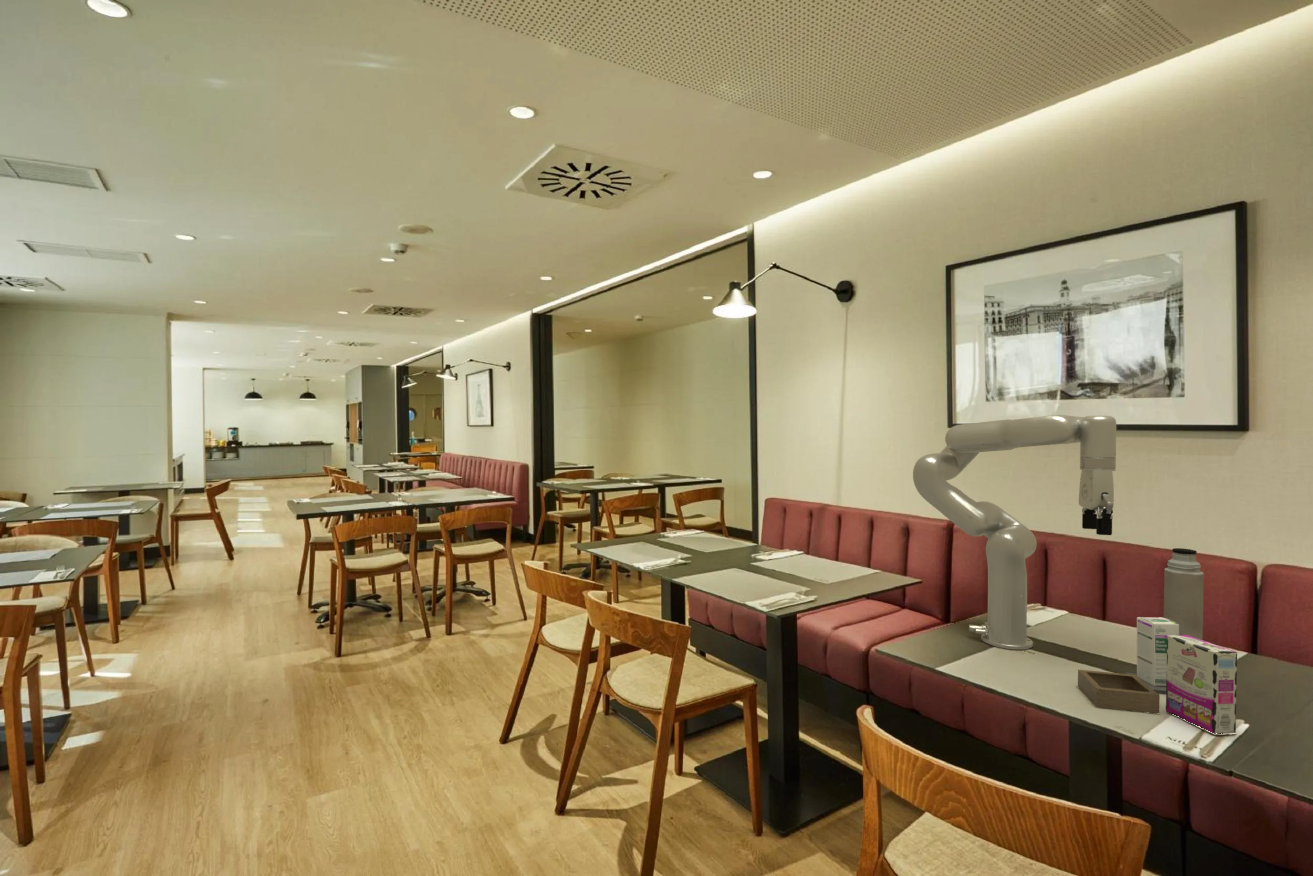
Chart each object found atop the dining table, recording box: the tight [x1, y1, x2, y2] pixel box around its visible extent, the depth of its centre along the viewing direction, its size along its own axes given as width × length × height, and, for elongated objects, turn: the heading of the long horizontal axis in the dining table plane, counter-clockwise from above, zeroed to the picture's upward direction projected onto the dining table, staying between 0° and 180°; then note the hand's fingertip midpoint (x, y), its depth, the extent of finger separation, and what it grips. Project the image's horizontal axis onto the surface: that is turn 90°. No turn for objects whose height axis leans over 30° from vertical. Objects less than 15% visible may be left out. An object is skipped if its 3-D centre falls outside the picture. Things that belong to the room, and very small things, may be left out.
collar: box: [1077, 669, 1161, 714], centre depth 142 cm, size 11×11×4 cm
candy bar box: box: [1165, 635, 1238, 734], centre depth 131 cm, size 11×5×16 cm, turn 5°
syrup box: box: [1136, 616, 1179, 686], centre depth 150 cm, size 6×6×14 cm
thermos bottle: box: [1163, 547, 1205, 641], centre depth 170 cm, size 8×8×28 cm
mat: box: [1124, 672, 1166, 695], centre depth 150 cm, size 10×10×1 cm
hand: (1096, 531), depth 164 cm, fingers open, 9 cm apart
